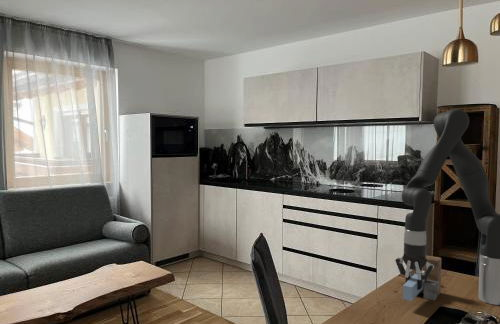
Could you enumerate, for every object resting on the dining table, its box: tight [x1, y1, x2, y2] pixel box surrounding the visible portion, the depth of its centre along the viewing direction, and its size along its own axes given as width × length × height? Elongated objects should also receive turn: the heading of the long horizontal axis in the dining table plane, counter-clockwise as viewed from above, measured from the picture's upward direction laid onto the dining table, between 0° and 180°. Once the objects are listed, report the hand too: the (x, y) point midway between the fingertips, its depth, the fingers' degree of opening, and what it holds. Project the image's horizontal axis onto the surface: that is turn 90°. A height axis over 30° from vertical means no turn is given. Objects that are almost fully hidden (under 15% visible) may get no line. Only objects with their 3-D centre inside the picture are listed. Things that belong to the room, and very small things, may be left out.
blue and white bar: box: [402, 271, 425, 302], centre depth 143 cm, size 19×3×5 cm, turn 141°
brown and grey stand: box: [410, 254, 442, 302], centre depth 152 cm, size 10×11×14 cm
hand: (413, 287), depth 142 cm, fingers closed on blue and white bar, 3 cm apart
